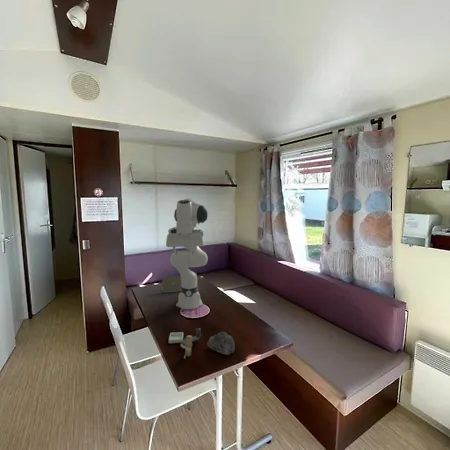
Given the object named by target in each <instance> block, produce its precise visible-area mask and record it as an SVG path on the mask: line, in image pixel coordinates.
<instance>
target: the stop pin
mask: <svg viewBox="0 0 450 450" xmlns="http://www.w3.org/2000/svg"><path fill="white" fill-rule="evenodd" d="M192 337H193V335H186V337H185V338H186V345H185V349H184V350H185V351H184V355H185V356H186V357H192V348H193V341H192Z"/></svg>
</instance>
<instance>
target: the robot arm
mask: <svg viewBox="0 0 450 450" xmlns="http://www.w3.org/2000/svg"><path fill="white" fill-rule="evenodd" d="M173 217H174V221H176V223H175V224H176V225H175V226H174V227H171V228H169V229H168V230H167V232H168V233H167V235H166V241H165V246H166V247H167V248H172V250H173V251H174V252H172V253H171V254H170V258H169V262H170V264H171V266H172V267H173V268H175V269H176V270H177V271H178V273H179V274H180V275H179V276H181V291H180V293H178V300H177V302H176V304H175V306H176V307H177V308H179V309H182V310H194V309H197V308H199V307H202V306H204V305H203V304H204V303H203V301H202V299H201V294H200V292H199V286H198V275H197V273H196V272H194V271H193V270H191V269H189V268H199V267H204V266H205V265H207V264H208V261H209V259H208V258H209V257H208V254H207V252H205V251H203V250H202V249H201V248H200V247H202V246H203V245H204V238H203V237H204V231H203V230H202V229H197V225H200V224H204V223H205V222H206V221H208V217H209V212H208V209H207V207H206V206H205V205H202V204H199V203H197V202H196V201H194V200H193V198H185V199H181V200H178V201H177V202H176V209H175V210H174V213H173ZM181 247H182V248H184V249H185V250H182V251H181V250H176V248H181Z"/></svg>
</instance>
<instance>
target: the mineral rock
mask: <svg viewBox="0 0 450 450" xmlns="http://www.w3.org/2000/svg"><path fill="white" fill-rule="evenodd" d="M206 344H207V346H208V347H209V348H210V349H211V350H212V351H215V352H217V353H220V354H222V355H226V356H231V355H232V354H234V352H235V349H236V347H235V346H236V344H235V341H234V337H232V336H231V335H229V334H228V333H227V332H226V331H220V332H218V333H216V334H214V335H212V336H209V339H208V340H207V342H206Z"/></svg>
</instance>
